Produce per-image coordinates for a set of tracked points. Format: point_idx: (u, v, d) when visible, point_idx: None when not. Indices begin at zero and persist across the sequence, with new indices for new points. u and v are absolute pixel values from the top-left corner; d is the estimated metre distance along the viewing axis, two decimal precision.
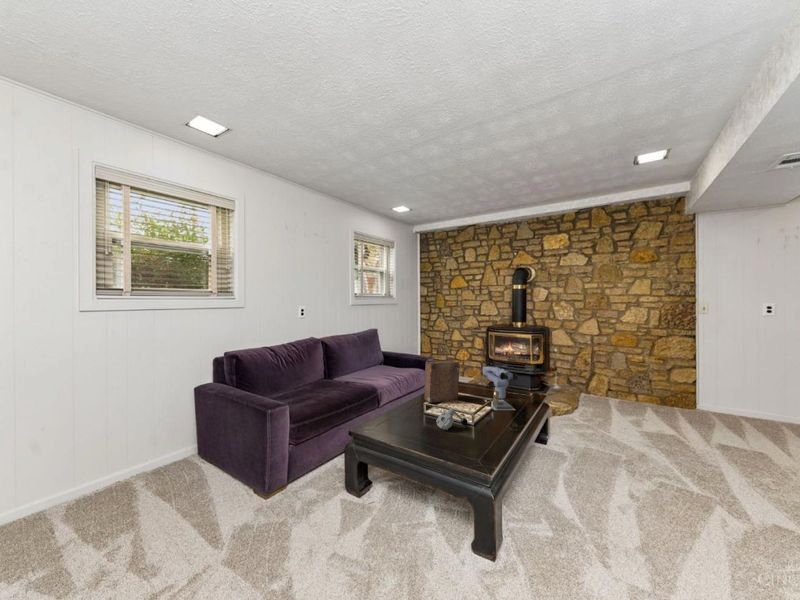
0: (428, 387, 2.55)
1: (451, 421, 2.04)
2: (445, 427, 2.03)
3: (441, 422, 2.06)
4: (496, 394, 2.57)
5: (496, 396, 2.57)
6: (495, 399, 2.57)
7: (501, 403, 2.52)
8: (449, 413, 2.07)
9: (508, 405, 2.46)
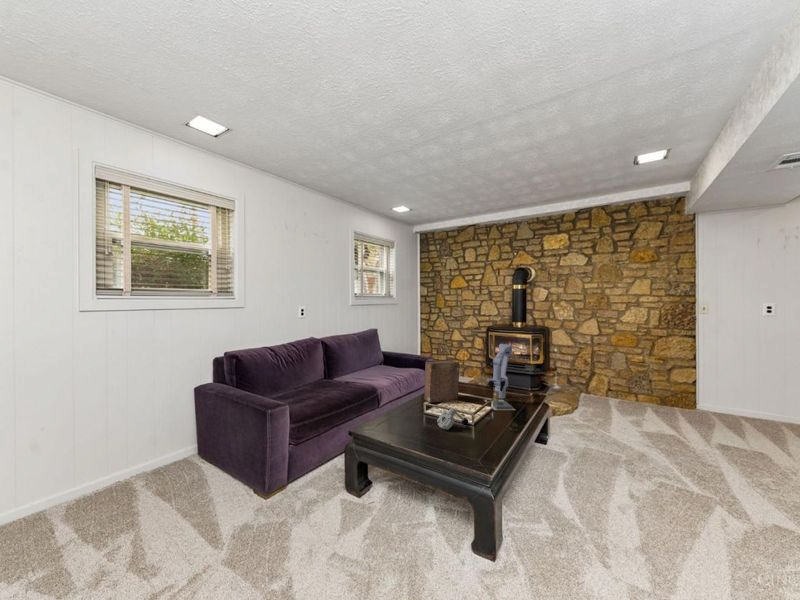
0: (428, 387, 2.55)
1: (452, 421, 2.05)
2: (446, 427, 2.04)
3: (442, 422, 2.06)
4: (496, 394, 2.57)
5: (496, 396, 2.57)
6: (495, 399, 2.57)
7: (501, 403, 2.52)
8: (450, 413, 2.08)
9: (508, 405, 2.46)
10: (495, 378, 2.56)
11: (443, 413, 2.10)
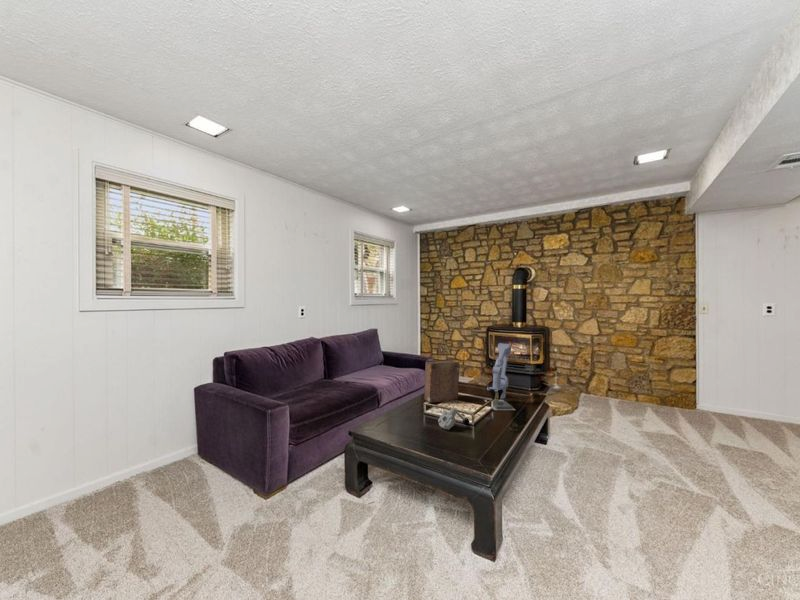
0: (428, 387, 2.55)
1: (453, 421, 2.05)
2: (447, 427, 2.04)
3: (443, 422, 2.07)
4: (496, 394, 2.57)
5: (496, 396, 2.57)
6: (495, 399, 2.57)
7: (501, 403, 2.52)
8: (451, 413, 2.08)
9: (508, 405, 2.46)
10: (495, 387, 2.57)
11: (444, 413, 2.11)
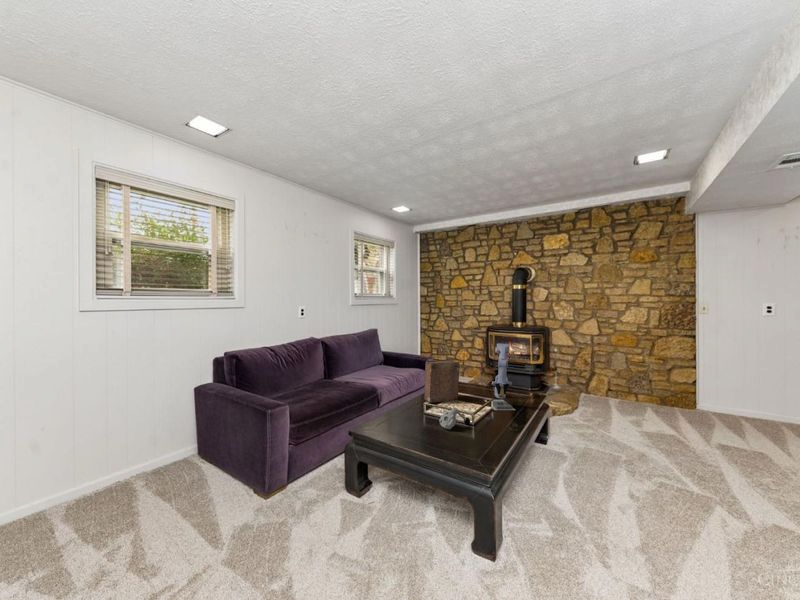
0: (428, 387, 2.55)
1: (454, 420, 2.05)
2: (448, 426, 2.04)
3: (444, 421, 2.07)
4: (501, 389, 2.48)
5: (501, 391, 2.48)
6: (500, 394, 2.48)
7: (501, 403, 2.52)
8: (452, 413, 2.08)
9: (508, 405, 2.46)
10: (500, 381, 2.47)
11: (445, 413, 2.11)
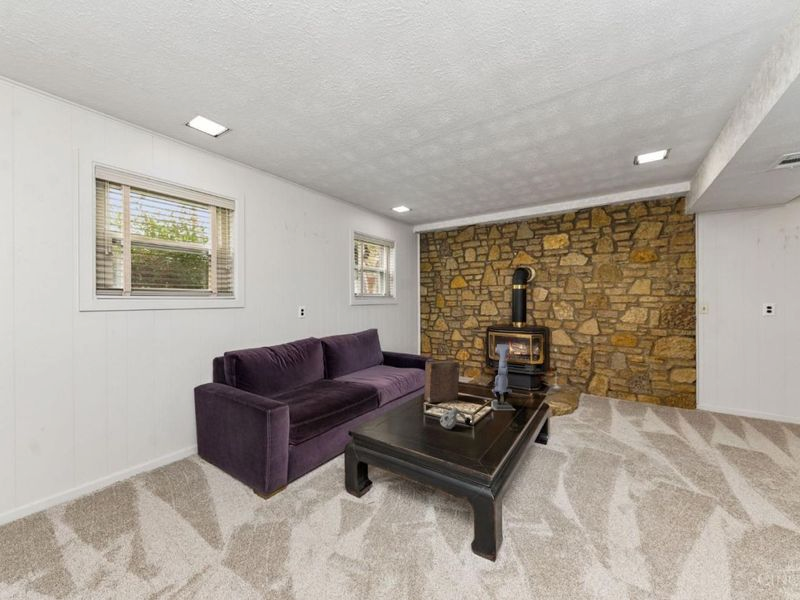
0: (428, 387, 2.55)
1: (455, 420, 2.06)
2: (449, 426, 2.05)
3: (445, 421, 2.07)
4: (501, 396, 2.47)
5: (501, 399, 2.47)
6: (500, 402, 2.48)
7: None
8: (453, 412, 2.09)
9: (508, 405, 2.46)
10: (500, 389, 2.47)
11: (446, 413, 2.11)
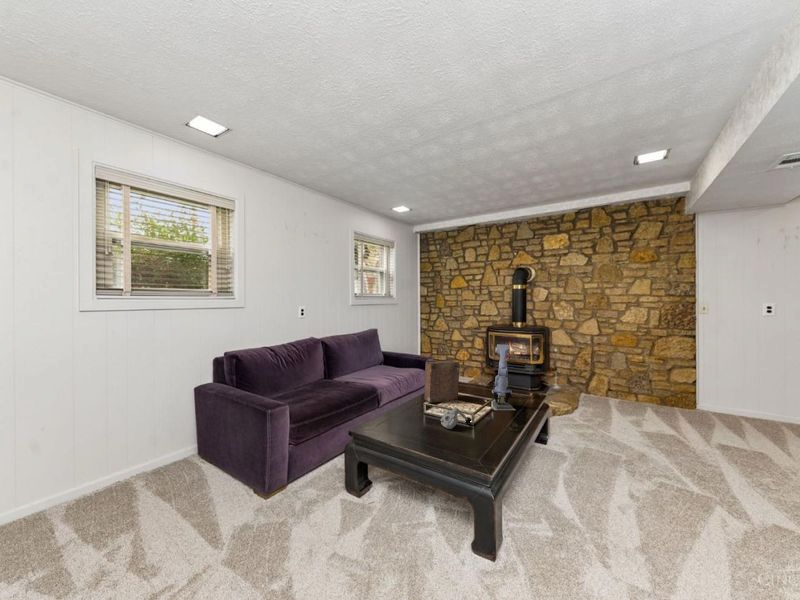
0: (428, 387, 2.55)
1: (455, 420, 2.06)
2: (449, 426, 2.05)
3: (445, 421, 2.08)
4: (502, 398, 2.47)
5: (502, 400, 2.47)
6: (500, 403, 2.48)
7: None
8: (453, 412, 2.09)
9: (508, 405, 2.46)
10: (500, 389, 2.47)
11: (446, 412, 2.12)
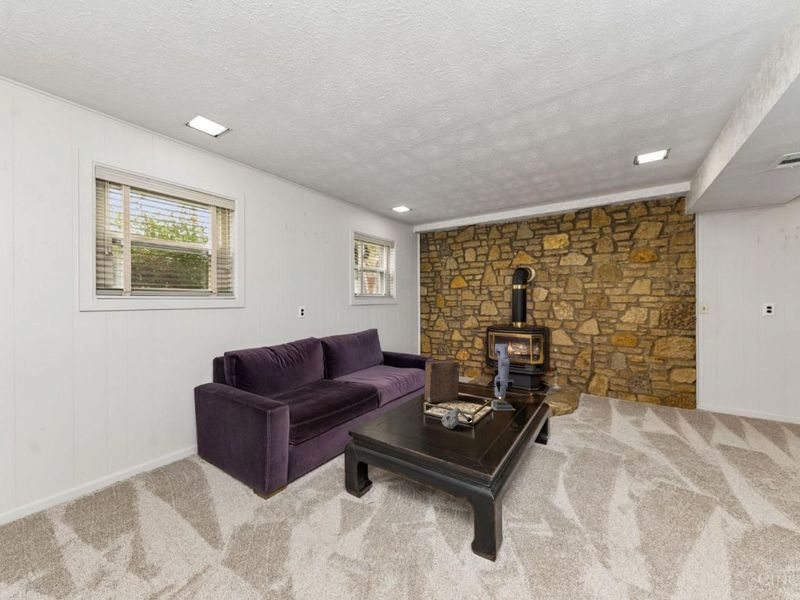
0: (428, 387, 2.55)
1: (456, 420, 2.06)
2: (450, 426, 2.05)
3: (446, 421, 2.08)
4: (501, 398, 2.47)
5: (501, 400, 2.47)
6: (500, 403, 2.48)
7: None
8: (454, 412, 2.09)
9: (508, 405, 2.46)
10: (502, 379, 2.55)
11: (447, 412, 2.12)
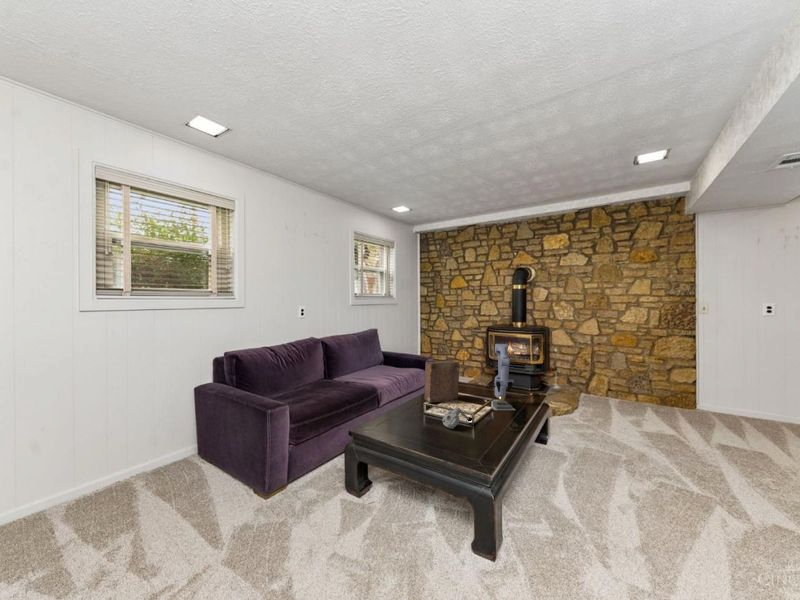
0: (428, 387, 2.55)
1: (457, 420, 2.07)
2: (451, 426, 2.06)
3: (447, 421, 2.08)
4: (502, 398, 2.47)
5: (502, 400, 2.47)
6: (500, 403, 2.48)
7: None
8: (455, 412, 2.10)
9: (508, 405, 2.46)
10: (502, 379, 2.55)
11: (448, 412, 2.12)
